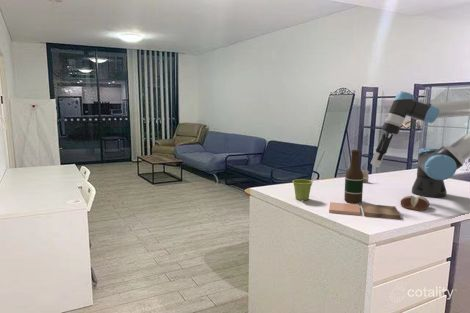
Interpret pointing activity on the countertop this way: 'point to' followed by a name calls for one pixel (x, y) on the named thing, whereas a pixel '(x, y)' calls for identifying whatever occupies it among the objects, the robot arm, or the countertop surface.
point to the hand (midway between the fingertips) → (374, 165)
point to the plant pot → (302, 188)
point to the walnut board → (380, 211)
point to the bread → (415, 203)
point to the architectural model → (365, 175)
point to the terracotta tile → (344, 208)
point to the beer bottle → (354, 180)
